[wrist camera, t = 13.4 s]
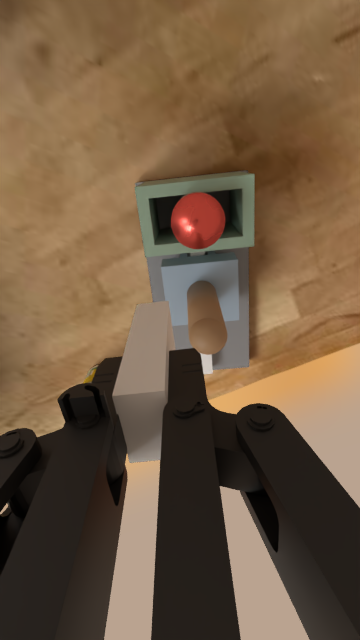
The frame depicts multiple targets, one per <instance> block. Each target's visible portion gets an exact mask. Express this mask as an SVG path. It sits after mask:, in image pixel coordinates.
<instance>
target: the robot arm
mask: <svg viewBox="0 0 360 640" xmlns="http://www.w3.org/2000/svg"><path fill="white" fill-rule="evenodd" d="M58 403H59V406H60V408H61V411H62V414H63V416H64V419H65V424H64V427H63V428H62V429H60V430H57V431H55V432H52V433H49V434H46V435H43V436H40V437H36V435H35V433H34V432H33V430H30V429H27V428H21V429H15V430H12V431H9V432H7V433H5V434H3V435H1V436H0V512H1V510H2V509H3V507H4V506H5V505H6V503H7V504H8V508H7V509H6V510H5V511H4V512H3V513H2V514H0V640H104V635H105V627H106V621H107V614H108V608H109V601H110V594H111V587H112V580H113V574H114V567H115V560H116V553H117V547H118V540H119V533H120V525H121V519H122V512H123V505H124V499H125V492H126V485H127V470H126V467H125V460H126V454H128V457H129V462H130V463H134V462H144V461H155V460H160V478H159V498H158V518H157V537H156V558H155V576H154V577H155V578H154V595H153V616H152V636H151V640H241V639H240V632H239V624H238V617H237V610H236V603H235V595H234V588H233V581H232V573H231V566H230V559H229V551H228V544H227V537H226V530H225V523H224V515H223V508H222V500H221V493H220V486H223V487H227V488H231V489H236V490H240V492H241V495H242V497H243V499H244V501H245V503H246V506H247V508H248V510H249V512H250V514H251V516H252V518H253V520H254V523H255V524H256V527H257V529H258V531H259V533H260V535H261V537H262V540H263V541H264V544H265V546H266V548H267V550H268V552H269V554H270V556H271V559H272V561H273V563H274V565H275V567H276V569H277V571H278V573H279V576H280V578H281V580H282V582H283V584H284V586H285V588H286V590H287V593H288V594H289V597H290V599H291V601H292V603H293V605H294V607H295V609H296V612H297V614H298V616H299V618H300V620H301V622H302V624H303V626H304V628H305V631H306V633H307V635H308V637H309V639H310V640H360V508H359V507H358V505H357V504H356V503H355V502H354V500H353V499H352V498H351V497H350V495H349V494H348V493H347V492H346V490H345V489H344V488H343V487H342V486H341V484H340V483H339V482H338V481H337V479H336V478H335V477H334V476H333V474H332V473H331V472H330V471H329V469H328V468H327V467H326V466H325V465H324V464H323V462H322V461H321V460H320V459H319V457H318V456H317V455H316V453H315V452H314V451H313V450H312V448H311V447H310V446H309V445H308V444H307V442H306V441H305V440H304V439H303V437H302V436H301V435H300V434H299V432H298V431H297V430H296V429H295V428H294V426H293V425H292V424H291V423H290V421H289V420H288V419H287V418H286V416H285V415H284V414H283V413H282V412H281V411H280V410H278V409H277V408H275V407H273V406H270V405H268V404H260V403H257V404H250V405H248V406H246V407H243V408H242V409H241V410H240V411H239V412H238V413H237V414H231V413H226V412H222V411H219V410H217V409H215V408H214V407H212V406H211V405H210V403H209V402H208V399H207V395H206V388H205V381H204V374H203V367H202V360H201V354H200V353H199V352H198V351H197V350H196V349H195V348H189V349H180V350H175V343H174V336H173V329H172V322H171V315H170V308H169V301H161V302H153V303H144V304H137V306H136V309H135V313H134V317H133V320H132V324H131V328H130V332H129V335H128V339H127V343H126V346H125V350H124V354H123V357H114V358H105V359H104V360H103V361H102V362H101V363H100V364H99V365H98V366H97V369H96V372H95V374H94V377H93V379H92V382H91V383H83V384H78V385H76V386H74V387H71V388H69V389H68V390H66V391H65V392H64V393H62V394H61V396H60V397H59V398H58Z"/></svg>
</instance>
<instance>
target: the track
mask: <svg viewBox="0 0 360 640" xmlns="http://www.w3.org/2000/svg"><path fill="white" fill-rule="evenodd" d="M135 185H136V187H135V193H136V200H137V206H138V213H139V219H140V226H141V232H142V239H143V245H144V252H145V257H146V258H147V264H148V271H149V277H150V284H151V291H152V297H153V302H161V301H165V295H164V287H163V279H162V272H161V264H162V259H170V258H180V254H183V253H187V257H190V256H200V255H208V252H207V251H213V250H214V251H215V254H220V253H230V252H234V254H235V255H236V257H237V259H238V286H239V320H235V321H224V322H225V326H226V329H227V341H226V344H225V346H224V347H223V348H222V349H221V350H220V351H219V352H217V353H215V354H210V355H205V354H201V353H200V354H201V360H202V367H203V374H212V373H213V370H218V369H230V368H242V367H249V247H253V246H254V174H252V173H248V170H243V171H234V172H225V173H216V174H207V175H198V176H189V177H180V178H171V179H162V180H153V181H144V182H137V183H135ZM192 192H204V193H207V194H209V195H211V196H213V197H214V198H215V199H216V200H217V201H218V202H219V203H220V205H221V206H222V208H223V211H224V214H225V227H224V230H223V233H222V235H221V236H220V238H219V239H218V240H217V241H216V242H215V243H214V244H213V245H211V246H209V247H207V248H204V249H191V248H188V247H186V246H184V245H182V244H181V243H180V242H179V241H178V240H177V239H176V237H175V236H174V234H173V231H172V228H171V216H172V211H173V209H174V207H175V205H176V203H177V202H178V201H179V200H180V199H181V198H182V197H183V196H185V195H187V194H189V193H192ZM172 329H173V336H174V343H175V350H180V349H189V348H193V347H192V345H191V343H190V341H189V332H188V325H179V326H172Z"/></svg>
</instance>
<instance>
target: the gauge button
mask: <svg viewBox="0 0 360 640" xmlns="http://www.w3.org/2000/svg"><path fill="white" fill-rule="evenodd" d="M224 227H225V214H224V211H223V208H222V206H221V205H220V203H219V202H218V201H217V200H216V199H215V198H214V197H213V196H211V195H209V194H207V193H204V192H192V193H189V194H187V195H185V196H183V197H182V198H181V199H180V200H179V201H178V202H177V203H176V205H175V207H174V209H173V211H172V216H171V228H172V231H173V234H174V236H175V237H176V239H177V240H178V241H179V242H180V243H181V244H182V245H184V246H186V247H188V248H191V249H204V248H207V247H209V246H211V245H213V244H214V243H215V242H216V241H217V240H218V239H219V238H220V236H221V235H222V233H223V230H224Z"/></svg>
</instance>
